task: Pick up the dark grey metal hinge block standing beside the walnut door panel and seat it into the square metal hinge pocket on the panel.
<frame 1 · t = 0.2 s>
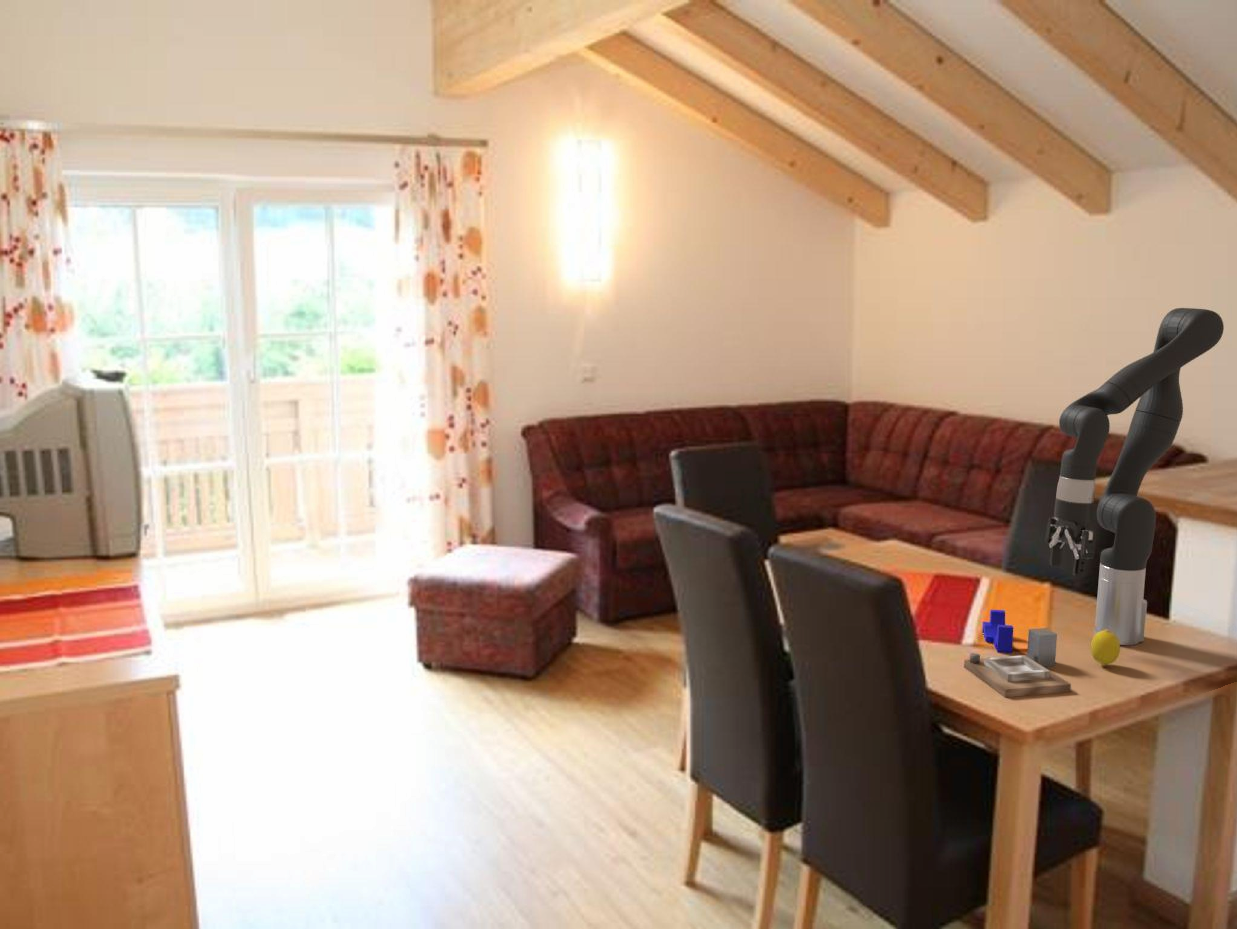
hand: (1066, 570, 224), 17 cm above the table, tool pointing down, fingers open, 8 cm apart
cable clip: (996, 644, 229), on the table
door panel: (1015, 679, 208), on the table
hinge block: (1040, 663, 217), on the table
lemon: (1103, 666, 215), on the table
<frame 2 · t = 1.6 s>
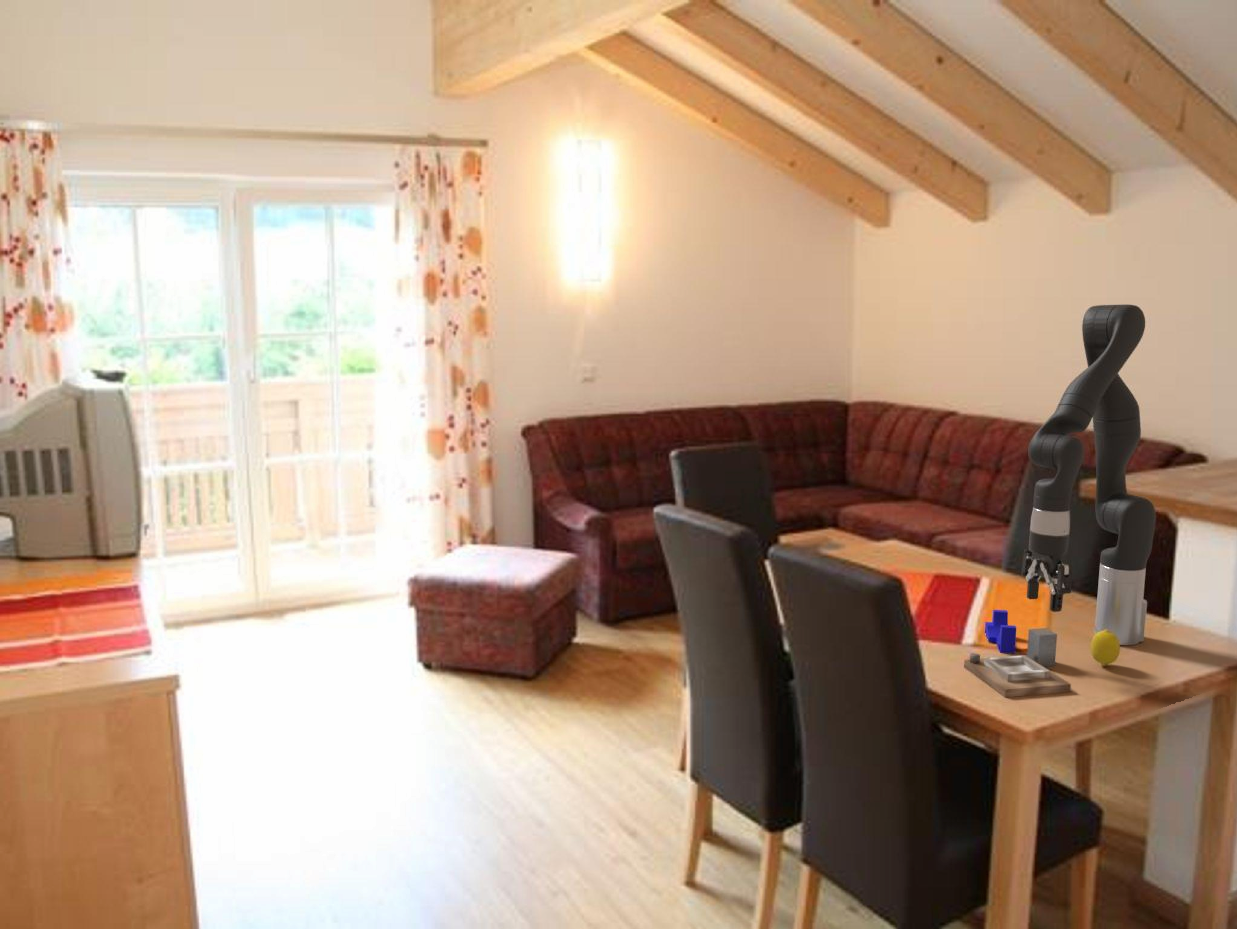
hand: (1043, 604, 214), 13 cm above the table, tool pointing down, fingers open, 8 cm apart
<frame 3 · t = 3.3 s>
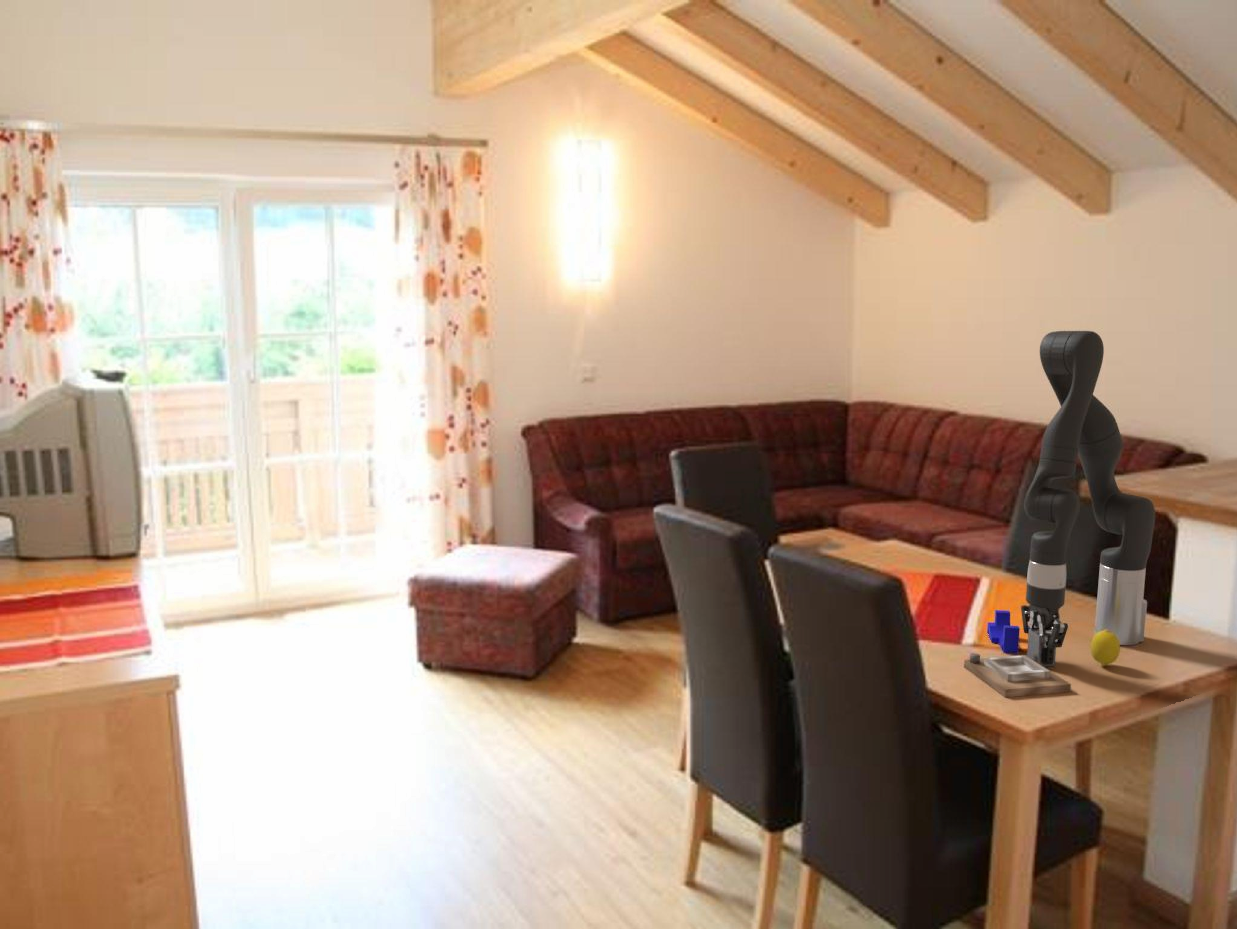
hand: (1040, 659, 217), 1 cm above the table, tool pointing down, fingers closed on hinge block, 4 cm apart
hinge block: (1040, 663, 217), on the table, touching gripper
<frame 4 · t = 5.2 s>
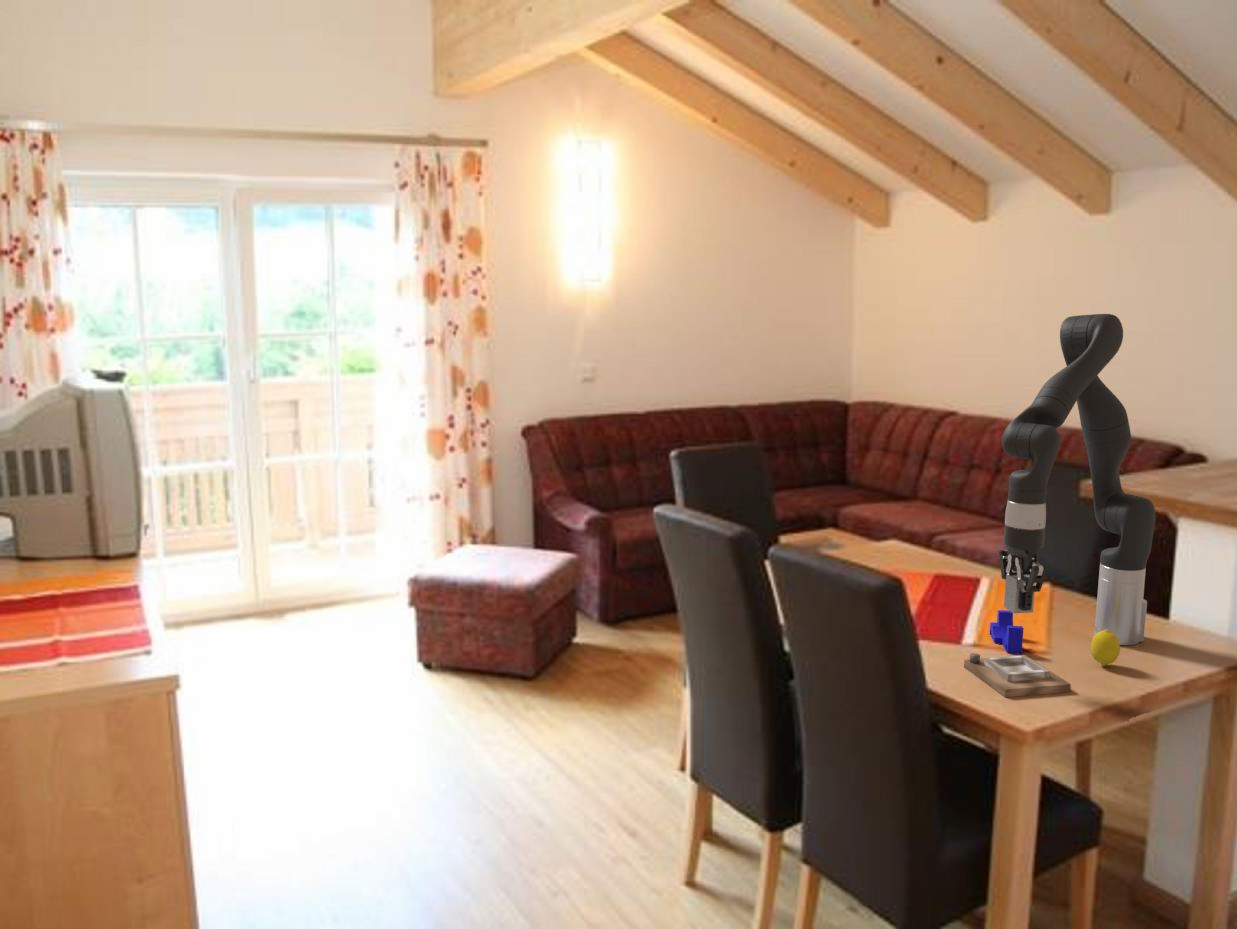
hand: (1018, 605, 205), 16 cm above the table, tool pointing down, fingers closed on hinge block, 4 cm apart
hinge block: (1018, 609, 206), point 15 cm above the table, touching gripper
when the fingers open (4 cm above the table, at t = 7.0 s): hinge block drops 1 cm, resting on door panel.
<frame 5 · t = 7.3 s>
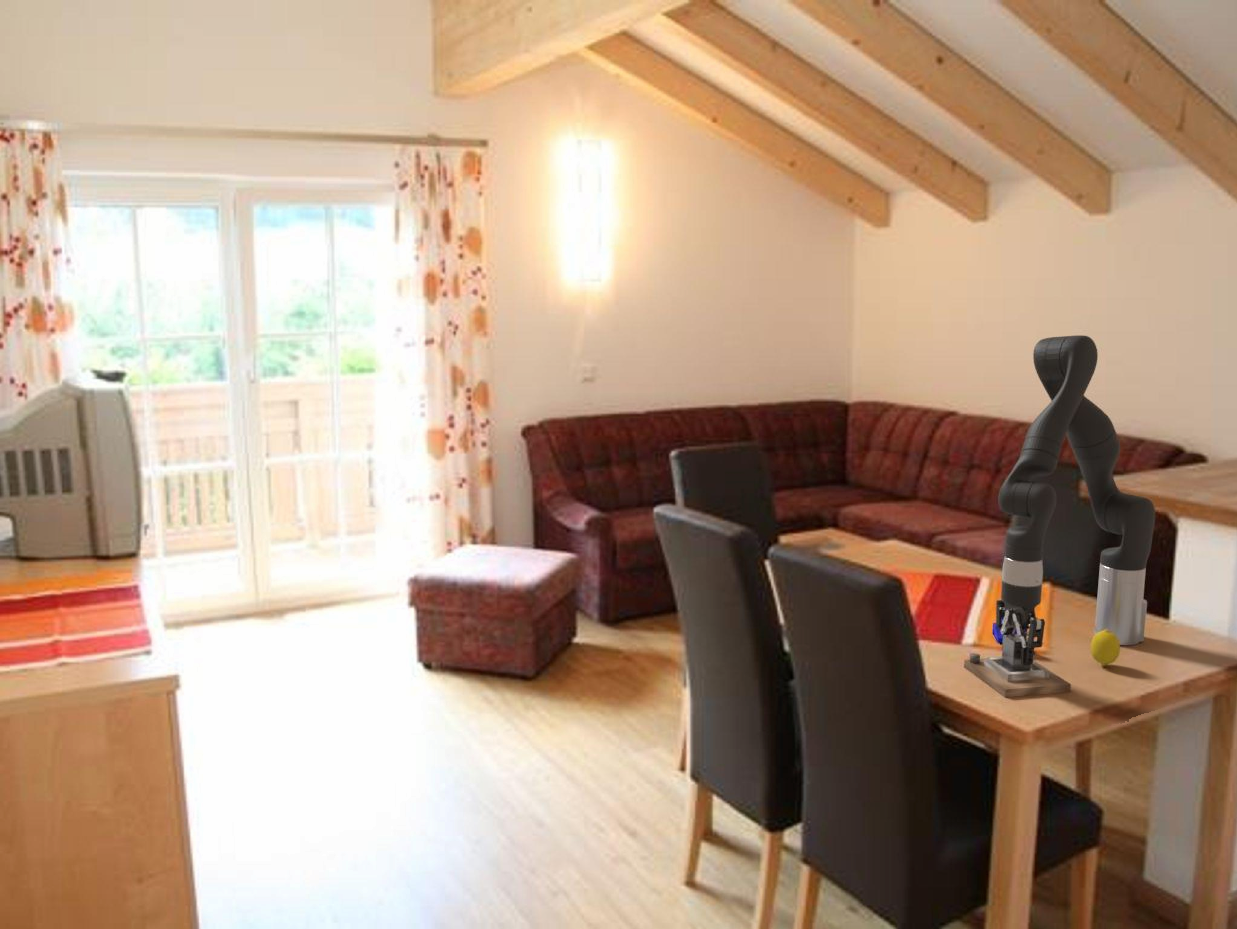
hand: (1016, 658, 207), 4 cm above the table, tool pointing down, fingers open, 6 cm apart
hinge block: (1015, 670, 208), point 2 cm above the table, touching door panel
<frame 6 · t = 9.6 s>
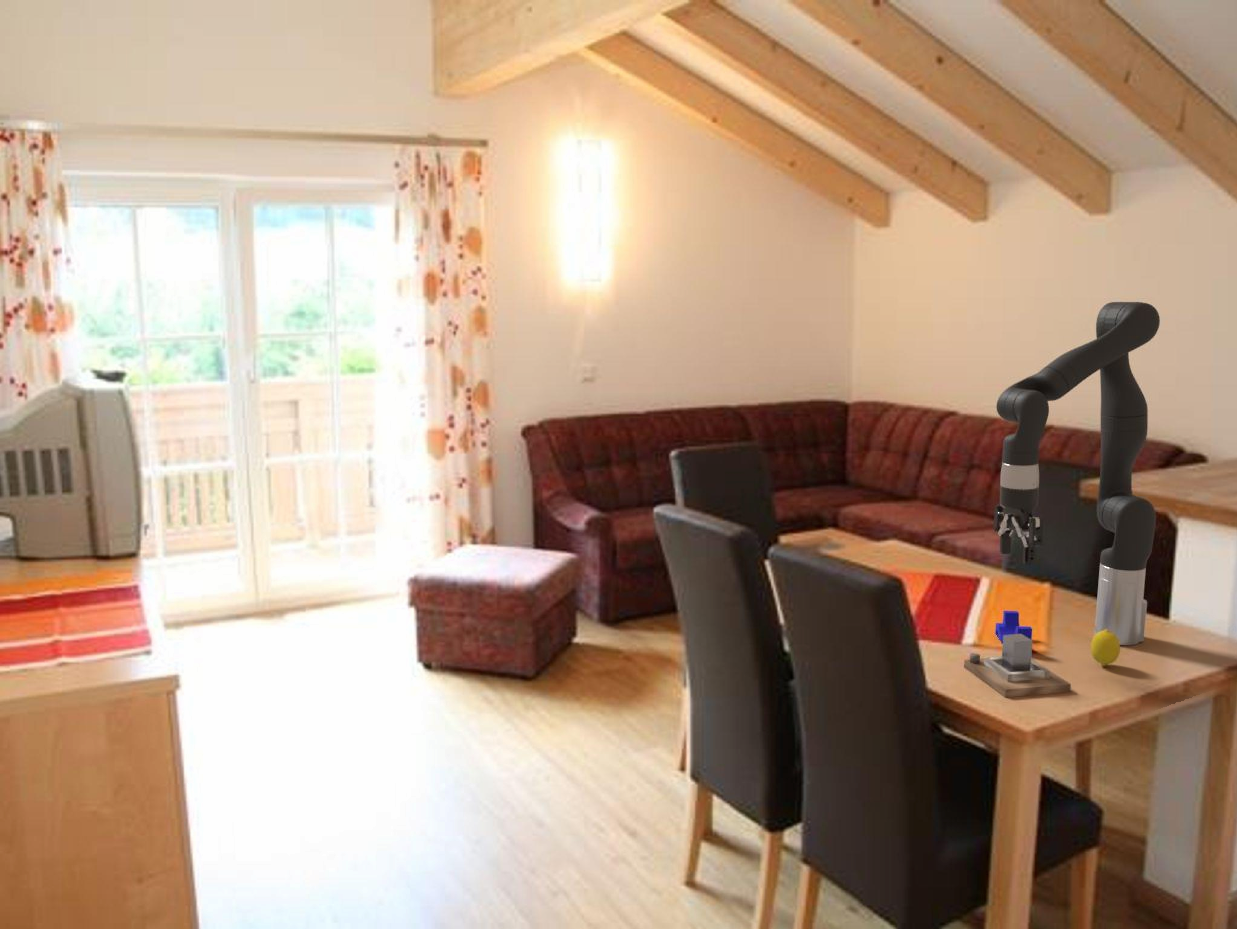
hand: (1016, 558, 217), 22 cm above the table, tool pointing down, fingers open, 8 cm apart
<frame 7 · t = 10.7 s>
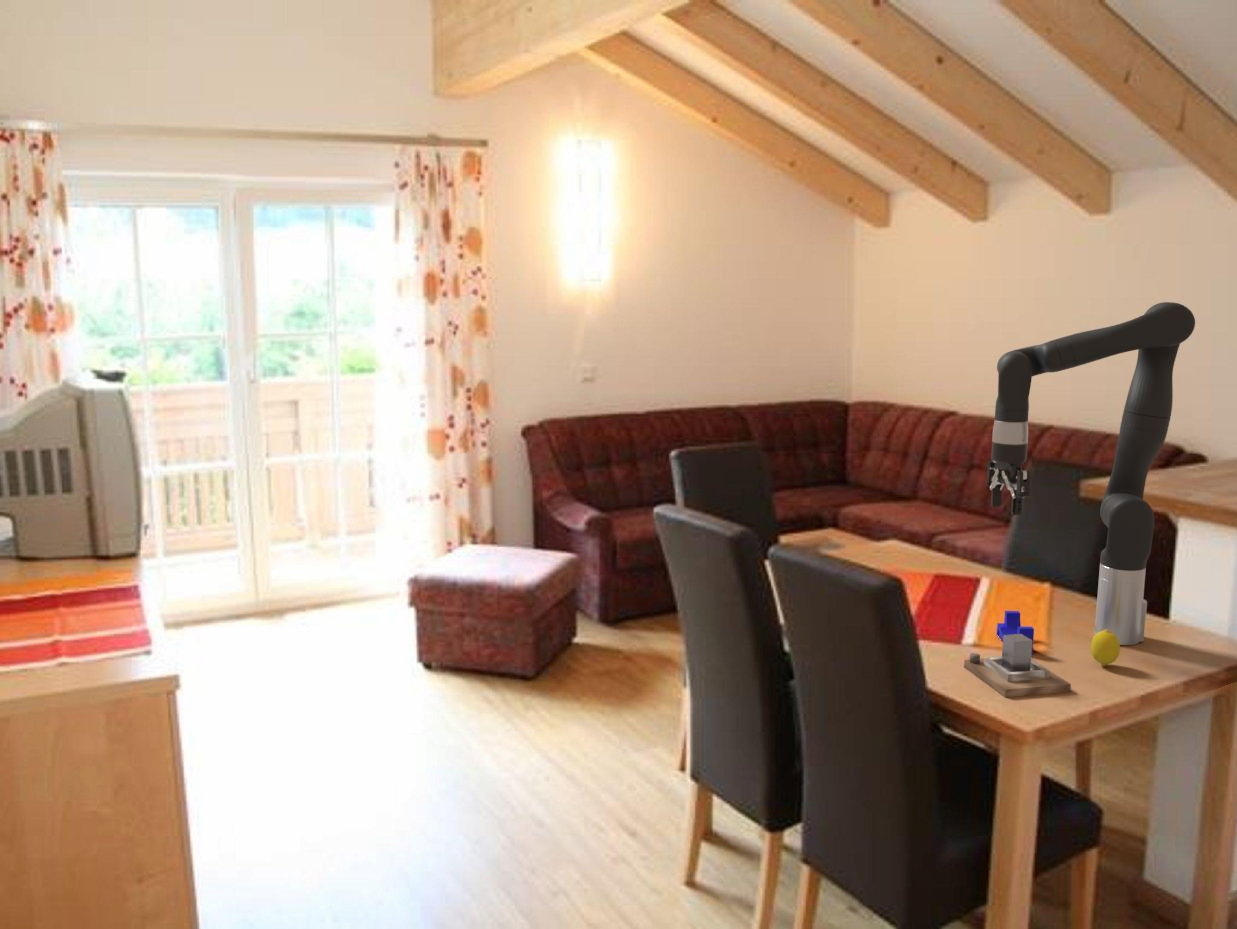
hand: (1005, 510, 233), 28 cm above the table, tool pointing down, fingers open, 8 cm apart
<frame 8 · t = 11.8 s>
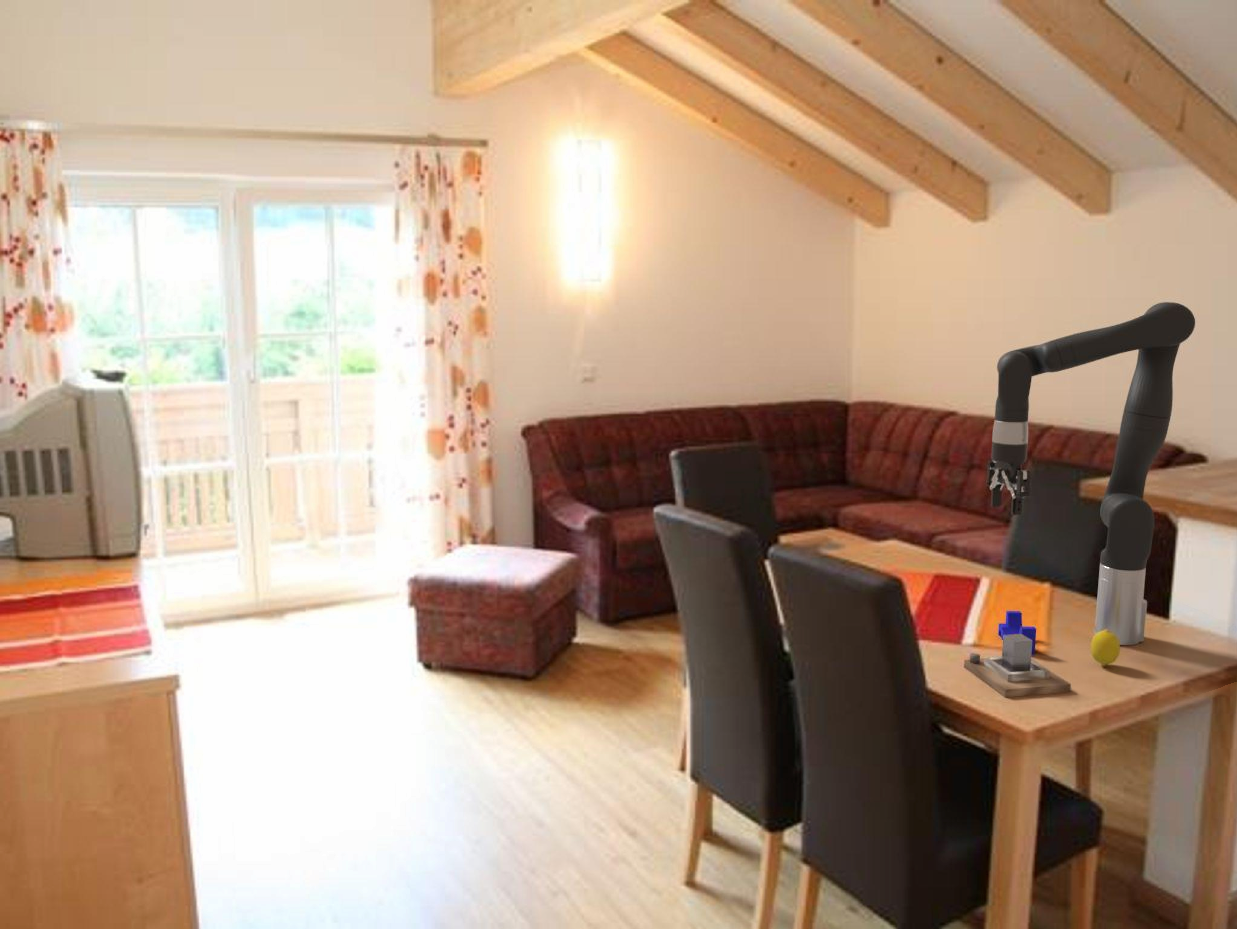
hand: (1005, 510, 233), 28 cm above the table, tool pointing down, fingers open, 8 cm apart
at the end: hinge block 0.1 cm off-centre on the door panel, point 1.8 cm above the door panel's base; the gripper is holding nothing; hinge block tilted 0° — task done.
